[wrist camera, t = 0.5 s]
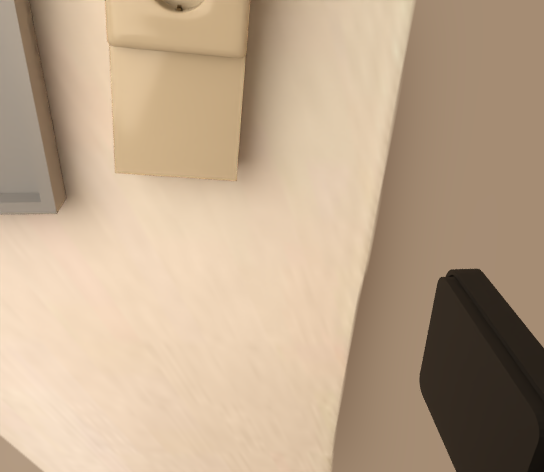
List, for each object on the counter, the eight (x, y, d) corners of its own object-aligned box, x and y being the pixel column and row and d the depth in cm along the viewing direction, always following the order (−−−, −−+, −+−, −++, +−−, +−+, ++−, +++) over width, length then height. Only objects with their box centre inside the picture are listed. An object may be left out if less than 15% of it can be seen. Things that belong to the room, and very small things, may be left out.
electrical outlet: (112, 179, 30) (91, -228, 21) (124, 154, 34) (111, -203, 25) (236, 187, 31) (266, -201, 22) (235, 161, 34) (261, -182, 26)
